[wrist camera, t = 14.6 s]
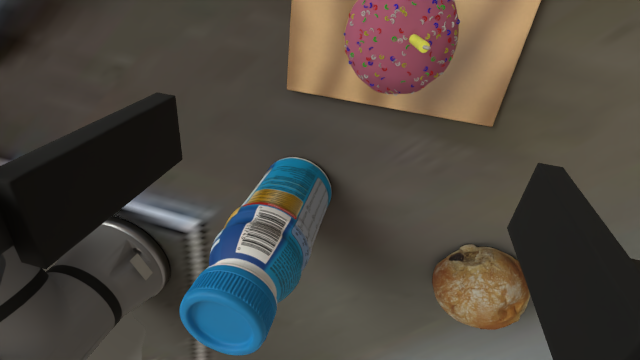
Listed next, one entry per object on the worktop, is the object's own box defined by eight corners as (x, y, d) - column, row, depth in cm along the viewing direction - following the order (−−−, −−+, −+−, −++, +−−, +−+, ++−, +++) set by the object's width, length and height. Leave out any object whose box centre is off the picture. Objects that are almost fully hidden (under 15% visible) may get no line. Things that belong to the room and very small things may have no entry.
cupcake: (441, -46, 28) (452, -54, 18) (464, 61, 31) (485, 106, 21) (339, -1, 31) (299, 14, 21) (370, 92, 34) (348, 143, 24)
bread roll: (499, 221, 43) (493, 240, 36) (550, 300, 41) (554, 336, 34) (427, 254, 47) (410, 276, 41) (470, 325, 46) (460, 361, 39)
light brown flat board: (288, 87, 37) (286, 89, 36) (298, -80, 29) (295, -81, 29) (491, 124, 34) (492, 127, 33) (558, -52, 26) (561, -52, 26)
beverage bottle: (347, 200, 42) (298, 355, 25) (291, 224, 46) (216, 372, 29) (307, 141, 39) (222, 270, 23) (251, 171, 43) (144, 301, 26)
